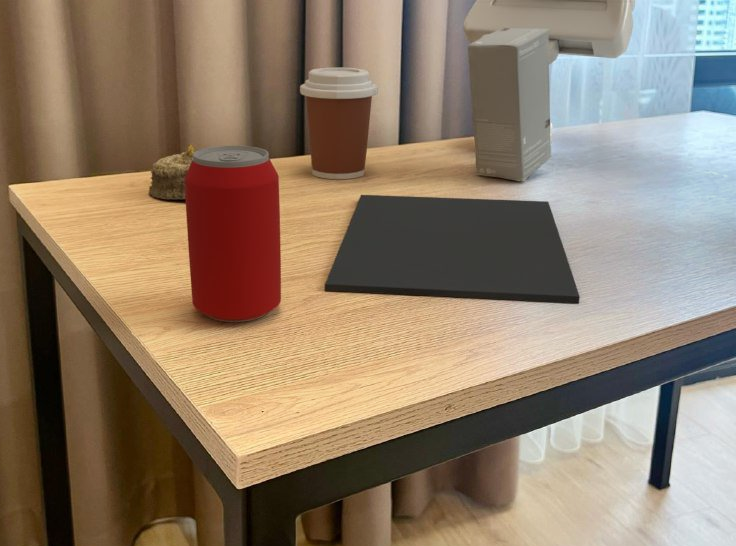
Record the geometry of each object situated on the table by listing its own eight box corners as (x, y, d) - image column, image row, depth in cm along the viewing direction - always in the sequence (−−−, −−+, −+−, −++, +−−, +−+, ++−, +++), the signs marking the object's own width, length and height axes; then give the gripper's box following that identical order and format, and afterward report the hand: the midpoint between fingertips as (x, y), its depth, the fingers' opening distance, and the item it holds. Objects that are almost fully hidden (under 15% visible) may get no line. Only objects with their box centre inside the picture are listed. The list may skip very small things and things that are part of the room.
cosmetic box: (523, 184, 104) (522, 47, 96) (469, 175, 108) (463, 43, 100) (554, 157, 110) (555, 25, 101) (501, 149, 114) (499, 22, 105)
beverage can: (282, 293, 72) (279, 143, 67) (281, 326, 65) (277, 163, 61) (197, 294, 71) (187, 143, 67) (188, 328, 65) (177, 164, 60)
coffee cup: (356, 185, 104) (358, 78, 99) (287, 176, 107) (285, 73, 102) (387, 168, 111) (390, 69, 106) (321, 161, 115) (321, 64, 110)
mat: (547, 206, 95) (548, 201, 95) (579, 303, 70) (579, 296, 70) (360, 199, 98) (360, 194, 98) (324, 290, 72) (324, 283, 72)
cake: (155, 211, 95) (147, 161, 93) (144, 189, 104) (136, 143, 102) (247, 196, 98) (240, 147, 96) (228, 176, 107) (222, 131, 104)
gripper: (479, -37, 113) (439, 51, 110) (642, -32, 103) (604, 65, 99) (491, -1, 119) (454, 84, 115) (648, 7, 108) (612, 100, 105)
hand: (525, 75), depth 107 cm, fingers closed
